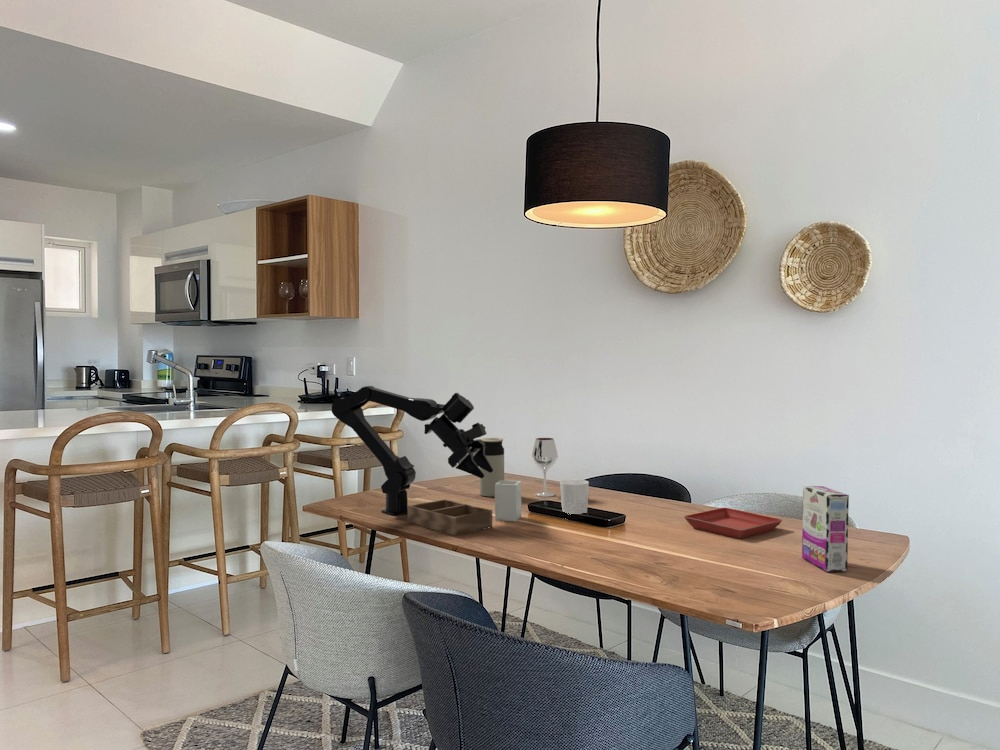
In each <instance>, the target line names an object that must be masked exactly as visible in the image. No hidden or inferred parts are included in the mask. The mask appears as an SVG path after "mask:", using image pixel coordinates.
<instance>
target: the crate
mask: <svg viewBox="0 0 1000 750" xmlns="http://www.w3.org/2000/svg"><path fill="white" fill-rule="evenodd" d="M408 522H410V523H409V524H411V523H413V524H412V525H415V524H417V525H416V526H418V525H420V527H422V526H423V527H422V528H425V527H427V528H426V529H429V528H431V529H430V530H432V529H434V530H433V531H436V530H437V532H439V531H441V532H440V533H443V532H444V533H443V534H446V533H448V534H447V535H450V534H451V536H453V535H455V536H459V535H458V534H460V535H462V534H461V533H464V534H467V533H466V532H469V533H472V532H471V531H473V532H476V531H475V530H478V531H480V529H482V530H485V529H484V528H486V529H489V528H488V527H491V528H493V510H492V509H488V508H484V507H480V506H475V505H472V504H468V503H462V502H459V501H456V500H455V501H454V500H449V499H446V498H444V499H438V500H434V501H429V502H423V503H417V504H412V505H411V504H410V505H408V513H407V523H408Z"/></svg>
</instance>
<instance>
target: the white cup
mask: <svg viewBox="0 0 1000 750" xmlns="http://www.w3.org/2000/svg"><path fill="white" fill-rule="evenodd" d="M589 483H590V482H589V481H588V480H586V479H585V480H584V479H576V478H575V479H564V480H561V481H560V482H559V485H560V486H559V487H560V501H561V508H562V509H561V510H562V511H563V512H565V513H567V514H568V513H569V514H570V515H571V514H582V513H587V514H588V506H589V505H588V504H589V485H590V484H589ZM569 514H568V515H569ZM565 520H567V519H566V518H565Z"/></svg>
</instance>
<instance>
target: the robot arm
mask: <svg viewBox="0 0 1000 750" xmlns="http://www.w3.org/2000/svg"><path fill="white" fill-rule="evenodd" d="M369 402H373V403H376V404H379V405H383V406H385V407H389V408H392V409H395V410H396V409H397V410H400V411H402V412H404V413H406V414H407V415H409V416H411V417H412V418H414V419H416V420H418V421H419V422H420V421H421V422H425V421H428V420H432V421H431V422H429V423H426V424H424V434H425V435H428V434H430V433H432V432H433V433H434V434H435V435H436V437H437V438H438V439H439V440H440V441H441V442H442V443H443V444H442V446H443V447H444V448H448V449H449V451H451V452H452V454H450V456H448V458H447V460H448V461H447V463H448V464H449V465H450V467H451V468H455V469H456V470H460V471H463V472H466V473H467V474H471V475H473V476H475V477H477V478H478V479H480V478H483V477H484V476H485V475H484V474H483V472H482V471H481V469H480V468H482V469H484V470H486V471H488V472H490V473H491V472H492V471H493V468H492V467H491V465H490V463H489V461H488V459H487V457H486V455H485V446H484V445H485V443H484V442H483V441H482V440H481V439H482V438H481V437H483V436H485V435H487V431H486V426H484V424H483V423H479V422H476V423H474V424H472V425H471V428H470V429H468V430H464V429H463V428H459V427H457V426H456V423H459V424H461V423H462V422H463V420H465V419H466V418H467V416H468V415H469V414H471V412H472V411H473V410H474V409H475V407H474V405H473V404H472V402H471V401H470V400H469V399H467V398H466V397H464V396H462V395H461V394H460V393H459V392H454V394H452V396H451V397H450V399H449V400H448V401H447V402H446V403H445V404H441V403H437V401H436V400H434V399H432V398H421V397H408V396H404V395H401V394H397V393H394V392H391V391H388V390H384V389H381V388H378V387H375V386H373V385H365V386H362V387H361V388H359V389H358V390H356V391H355V392H353V393H351V394H348V395H347V396H345V397H340V398H336V399H335V400H333V402H332V405H331V414H332V416H334V417H335V418H336V419H337V420H339V421H340V422H341V423H342V424H344V425H346V426H348V427H350V428H351V429H352V430H353V432H354V433H355V434H356V435H357V436H358V437H359V438H360V440H361V441H362V442H363V443H364V445H365V446H366V447H367V448H368V449H369V450H370V452H371V453H372V455H374V457H375V458H376V459H377V460H378V462H380V464H381V466H382V469H383V471H384V476H386V478H387V480H385V481H384V482H383V483H382V484H381V485H380V488H381V489H380V490H381V491H382V494H385V509H381V512H382V513H384V514H388V515H392V516H397V515H401V514H406V513H407V514H408V506H409V505H408V491H407V490H409V489H410V487H411V484H412V483H413V482H414V481H415V480H416V475H417V474H416V473H417V472H416V470H415V468H414V467H415V465H414V464H412V463H411V462H410V460H409V459H408V457H407V456H406V455H404V456H401V457H399V456H397V454H395V453H394V452H393V450H392V449H391V448H390V447H389V446H388V445H387V443H386V442H385V441H384V439H382V437H381V436H380V435H379V434H378V432H377V431H376V430H375V429H374V428H373V427H372V425H371V424H370V423H369V421H367V419H366V418H365V414H364V411H363V408H362V407H364V406H365V405H367V404H368V403H369ZM440 414H441V416H439V417H437V416H438V415H440ZM478 438H479V439H478ZM479 467H480V468H479Z"/></svg>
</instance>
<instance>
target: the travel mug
mask: <svg viewBox="0 0 1000 750" xmlns="http://www.w3.org/2000/svg"><path fill="white" fill-rule="evenodd" d="M480 439H481V440H482V441H483V442H484V443H485V445H484V446H485V455H486V457H487V459H488V461H489V463H490V465H491V467H492V468H493V471H492V472H491V473H490V472H488V471H486V470H484V469H482V468H480V467H479V466H478V467H479V468H480V469H481V471H482V472H483V474H484V475H485V476H484V477H483V478H479V495H480V496H482V497H485V496H486V498H490V497H491V498H495V484H496V483H497V482H499V481H500V480H505V448H504V446H503V441H504V438H501V437H482V438H480Z"/></svg>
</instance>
